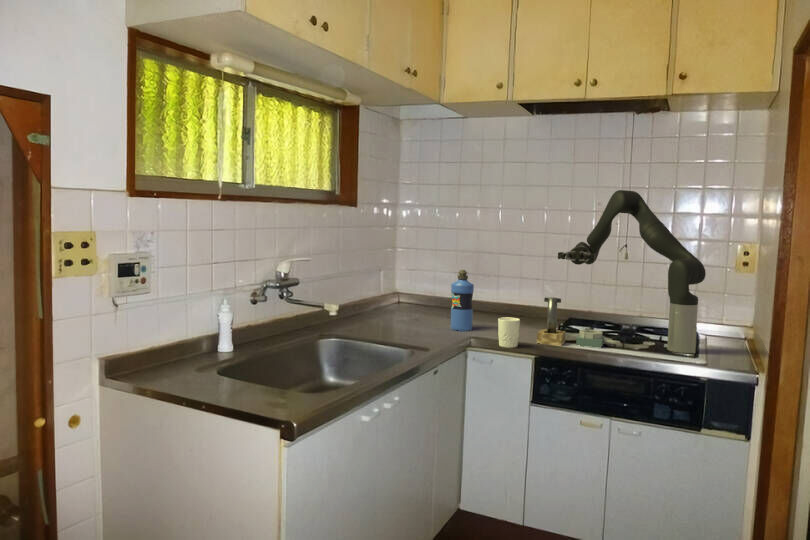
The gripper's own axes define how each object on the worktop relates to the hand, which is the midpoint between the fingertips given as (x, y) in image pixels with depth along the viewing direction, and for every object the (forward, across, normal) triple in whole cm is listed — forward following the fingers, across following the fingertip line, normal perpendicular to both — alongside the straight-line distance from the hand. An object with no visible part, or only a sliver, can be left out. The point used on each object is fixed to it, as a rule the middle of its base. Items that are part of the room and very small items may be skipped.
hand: (573, 257), depth 238 cm
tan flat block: (+14, -5, +32) cm, 35 cm away
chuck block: (+11, +12, +32) cm, 36 cm away
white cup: (+28, -18, +32) cm, 46 cm away
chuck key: (+14, -5, +31) cm, 34 cm away
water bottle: (+5, -44, +32) cm, 55 cm away
